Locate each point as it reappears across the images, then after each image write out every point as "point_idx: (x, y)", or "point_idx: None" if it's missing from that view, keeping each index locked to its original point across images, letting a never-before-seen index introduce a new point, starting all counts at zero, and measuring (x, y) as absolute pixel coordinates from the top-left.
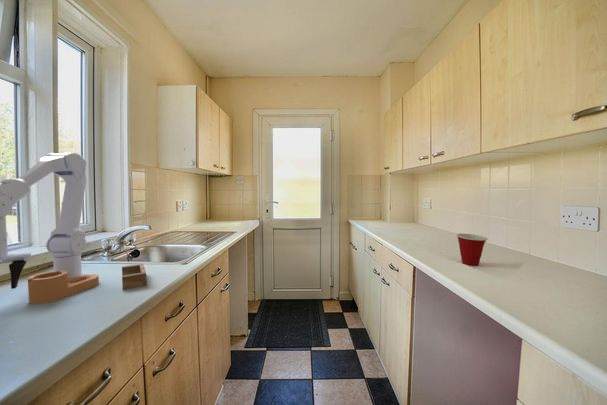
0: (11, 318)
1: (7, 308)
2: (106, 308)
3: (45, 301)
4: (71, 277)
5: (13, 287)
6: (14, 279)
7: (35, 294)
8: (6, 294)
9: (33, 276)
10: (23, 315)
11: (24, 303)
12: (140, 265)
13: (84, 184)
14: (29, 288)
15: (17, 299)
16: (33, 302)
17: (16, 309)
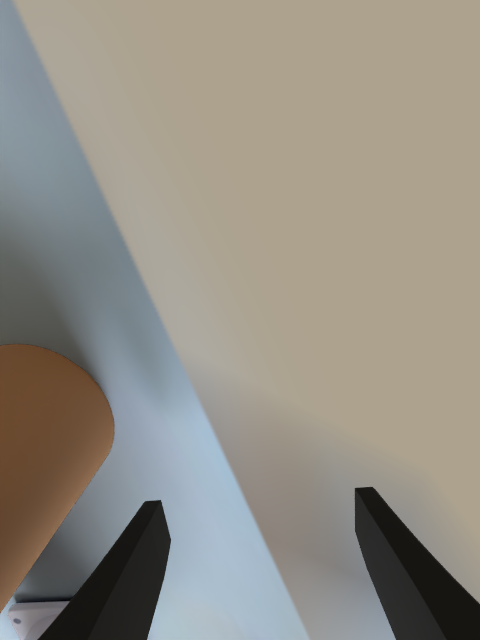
0: (56, 150)
1: (167, 349)
2: None
3: (2, 347)
4: (36, 637)
5: (145, 506)
6: (96, 578)
7: (5, 379)
8: (270, 561)
9: None
10: (14, 172)
11: (119, 389)
12: None
13: None
14: (13, 433)
15: (185, 468)
16: (61, 362)
17: (111, 307)
